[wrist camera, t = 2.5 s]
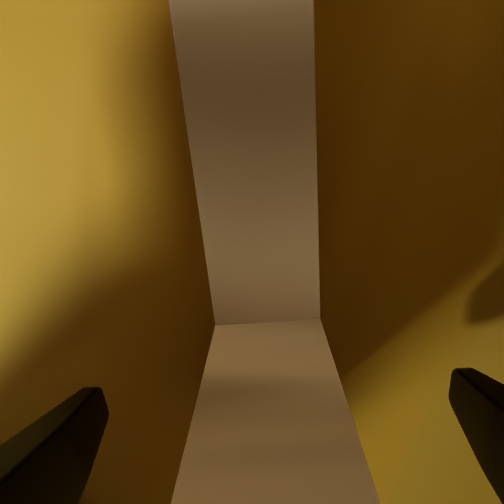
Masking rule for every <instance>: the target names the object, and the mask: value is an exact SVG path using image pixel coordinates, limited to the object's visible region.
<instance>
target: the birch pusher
mask: <svg viewBox="0 0 504 504" xmlns="http://www.w3.org/2000/svg"><path fill="white" fill-rule="evenodd" d="M168 3H169V10H170V17H171V24H172V31H173V38H174V44H175V51H176V58H177V65H178V72H179V79H180V86H181V93H182V100H183V106H184V113H185V120H186V127H187V134H188V141H189V148H190V155H191V162H192V168H193V175H194V182H195V189H196V196H197V203H198V210H199V217H200V224H201V230H202V237H203V244H204V251H205V258H206V265H207V272H208V279H209V286H210V292H211V299H212V306H213V313H214V320H215V329H214V333H213V337H212V341H211V345H210V349H209V352H208V356H207V360H206V364H205V368H204V372H203V376H202V380H201V384H200V388H199V392H198V396H197V400H196V404H195V408H194V412H193V416H192V420H191V424H190V428H189V432H188V436H187V440H186V444H185V448H184V452H183V456H182V460H181V464H180V468H179V472H178V476H177V480H176V484H175V488H174V492H173V496H172V500H171V504H380V501H379V498H378V495H377V492H376V489H375V486H374V483H373V480H372V477H371V474H370V471H369V468H368V464H367V461H366V458H365V455H364V452H363V449H362V446H361V443H360V440H359V437H358V434H357V431H356V427H355V424H354V421H353V418H352V415H351V412H350V409H349V406H348V403H347V400H346V397H345V394H344V390H343V387H342V384H341V381H340V378H339V375H338V372H337V369H336V366H335V363H334V360H333V356H332V353H331V350H330V347H329V344H328V341H327V338H326V335H325V332H324V329H323V326H322V323H321V319H320V279H319V231H318V184H317V136H316V88H315V41H314V0H168Z"/></svg>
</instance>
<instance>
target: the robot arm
mask: <svg viewBox="0 0 504 504" xmlns="http://www.w3.org/2000/svg"><path fill="white" fill-rule="evenodd" d="M449 401H450V404H451V406H452V409H453V411H454V413H455V415H456V417H457V419H458V421H459V423H460V425H461V427H462V429H463V431H464V433H465V436H466V438H467V440H468V442H469V444H470V446H471V448H472V450H473V452H474V454H475V456H476V458H477V460H478V462H479V464H480V466H481V468H482V470H483V472H484V473H485V475H486V477H487V479H488V480H489V482H490V484H491V485H492V487H493V489H494V490H495V492H496V494H497V496H498V497H499V499H500V501H501V502H502V504H504V384H502V383H500V382H498V381H496V380H494V379H492V378H490V377H489V376H487V375H485V374H483V373H481V372H479V371H477V370H475V369H473V368H456V369H454V370H453V371H452V374H451V381H450V388H449ZM108 417H109V411H108V407H107V404H106V400H105V397H104V394H103V391H102V389H101V388H100V387H85V388H82V389H81V390H79V391H78V392H77V393H75V394H74V395H72V396H71V397H69V398H68V399H66V400H65V401H64V402H62V403H61V404H59V405H58V406H56V407H55V408H53V409H52V410H51V411H49V412H48V413H46V414H45V415H43V416H42V417H40V418H39V419H38V420H36V421H35V422H33V423H32V424H30V425H29V426H27V427H26V428H25V429H23V430H22V431H20V432H19V433H17V434H16V435H15V436H13V437H12V438H10V439H9V440H7V441H6V442H4V443H3V444H2V445H0V504H78V502H79V500H80V498H81V495H82V493H83V491H84V488H85V486H86V483H87V481H88V478H89V475H90V472H91V469H92V466H93V463H94V460H95V457H96V454H97V451H98V448H99V445H100V442H101V439H102V436H103V433H104V430H105V427H106V424H107V421H108Z"/></svg>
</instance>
